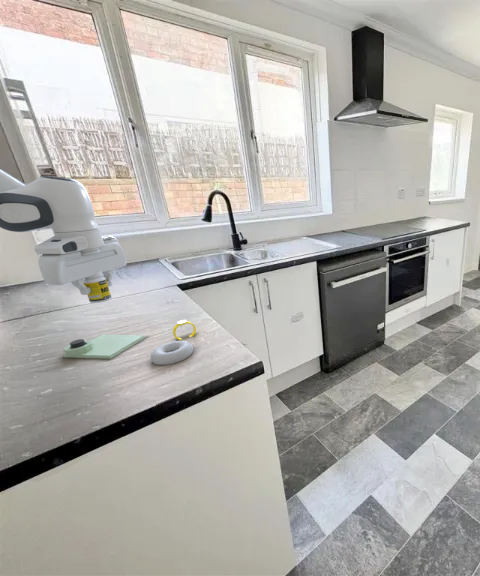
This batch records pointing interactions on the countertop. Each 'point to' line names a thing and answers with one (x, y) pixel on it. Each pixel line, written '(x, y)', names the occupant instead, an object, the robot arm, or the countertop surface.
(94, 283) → the supplement bottle
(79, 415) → the countertop surface
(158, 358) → the donut
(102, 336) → the scale
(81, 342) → the button
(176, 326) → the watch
